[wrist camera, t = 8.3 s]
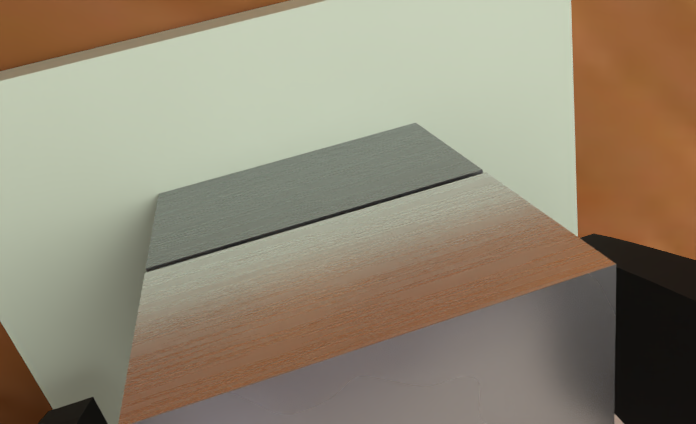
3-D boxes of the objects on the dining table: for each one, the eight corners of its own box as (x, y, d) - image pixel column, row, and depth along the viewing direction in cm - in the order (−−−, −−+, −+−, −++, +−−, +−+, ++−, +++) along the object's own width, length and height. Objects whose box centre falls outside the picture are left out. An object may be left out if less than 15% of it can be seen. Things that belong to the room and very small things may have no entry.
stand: (546, 371, 14) (583, 412, 13) (155, 510, 13) (151, 573, 12) (519, -56, 10) (568, -60, 9) (-75, 89, 9) (-125, 111, 7)
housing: (457, 394, 12) (611, 647, 7) (262, 462, 11) (304, 780, 7) (415, 122, 9) (617, 263, 5) (158, 194, 9) (117, 428, 4)
